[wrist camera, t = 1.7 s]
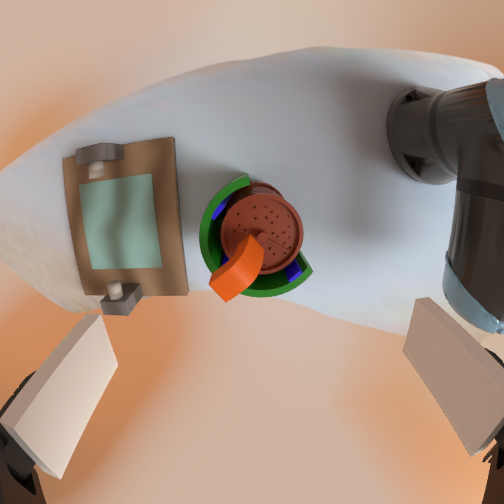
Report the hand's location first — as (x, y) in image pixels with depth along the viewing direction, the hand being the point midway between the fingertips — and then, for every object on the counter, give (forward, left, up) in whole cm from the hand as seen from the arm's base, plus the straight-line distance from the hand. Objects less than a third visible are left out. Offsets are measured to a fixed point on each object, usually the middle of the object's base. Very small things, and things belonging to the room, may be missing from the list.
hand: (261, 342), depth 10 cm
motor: (0, 0, -28) cm, 29 cm away
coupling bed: (+19, 0, -28) cm, 34 cm away
